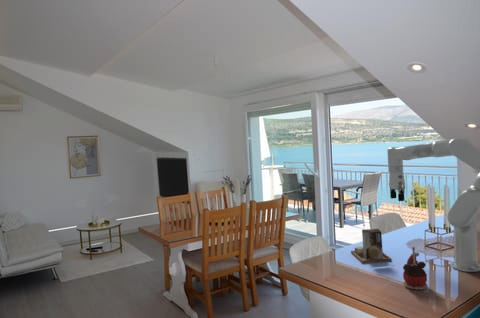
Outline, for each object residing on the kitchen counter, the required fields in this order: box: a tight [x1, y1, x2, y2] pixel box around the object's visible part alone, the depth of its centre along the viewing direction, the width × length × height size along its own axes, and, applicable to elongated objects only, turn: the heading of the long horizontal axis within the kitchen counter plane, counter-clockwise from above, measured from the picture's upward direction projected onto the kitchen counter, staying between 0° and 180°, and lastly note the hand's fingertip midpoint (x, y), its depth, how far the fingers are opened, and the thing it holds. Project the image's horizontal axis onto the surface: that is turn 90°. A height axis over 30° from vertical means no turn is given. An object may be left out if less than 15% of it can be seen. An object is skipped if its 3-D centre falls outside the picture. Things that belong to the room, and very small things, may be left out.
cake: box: [402, 246, 428, 291], centre depth 164 cm, size 11×9×18 cm
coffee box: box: [361, 228, 384, 260], centre depth 200 cm, size 9×6×16 cm
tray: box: [350, 250, 393, 264], centre depth 204 cm, size 18×16×2 cm
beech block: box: [354, 245, 364, 256], centre depth 210 cm, size 4×4×4 cm
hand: (397, 199), depth 203 cm, fingers open, 9 cm apart
